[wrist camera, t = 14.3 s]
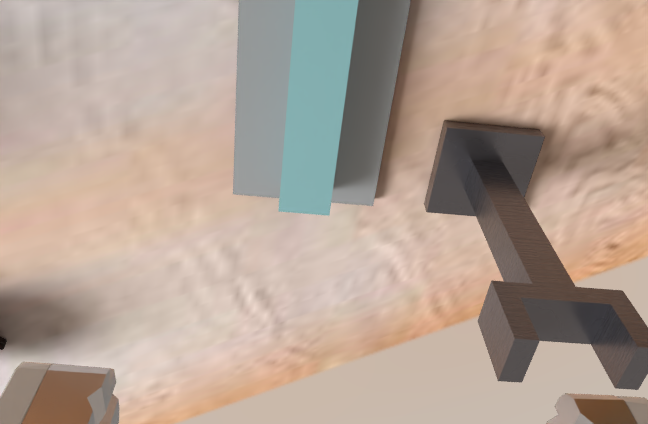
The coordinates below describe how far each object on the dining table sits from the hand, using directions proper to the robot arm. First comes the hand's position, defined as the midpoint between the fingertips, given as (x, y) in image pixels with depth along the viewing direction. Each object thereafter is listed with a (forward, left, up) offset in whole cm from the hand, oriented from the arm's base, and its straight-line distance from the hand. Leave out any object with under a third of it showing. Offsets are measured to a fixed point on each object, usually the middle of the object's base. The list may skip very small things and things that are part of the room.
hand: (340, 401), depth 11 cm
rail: (0, 0, -25) cm, 25 cm away
